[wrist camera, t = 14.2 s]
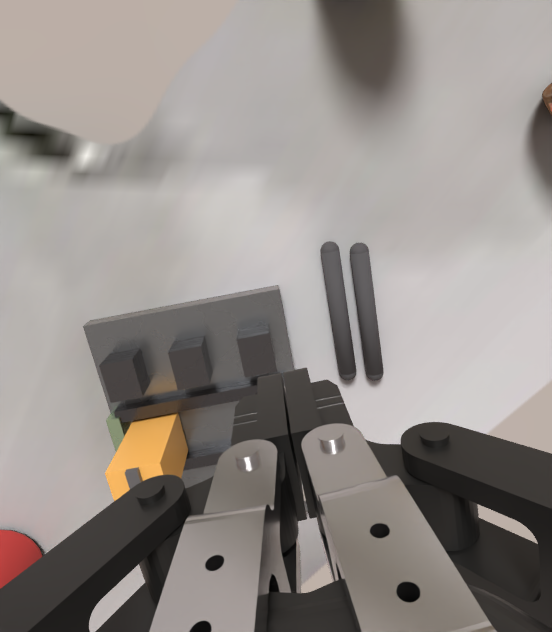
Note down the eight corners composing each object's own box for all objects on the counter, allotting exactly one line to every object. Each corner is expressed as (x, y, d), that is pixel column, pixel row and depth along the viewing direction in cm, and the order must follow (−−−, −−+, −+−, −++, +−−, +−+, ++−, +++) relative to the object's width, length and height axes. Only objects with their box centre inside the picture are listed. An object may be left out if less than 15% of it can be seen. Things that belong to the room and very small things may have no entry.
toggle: (177, 411, 35) (158, 466, 28) (188, 449, 36) (172, 513, 29) (133, 419, 35) (103, 477, 28) (145, 458, 36) (118, 523, 29)
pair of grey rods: (364, 233, 34) (368, 235, 32) (381, 374, 37) (386, 381, 36) (317, 242, 34) (320, 244, 32) (339, 382, 37) (342, 389, 36)
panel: (278, 285, 34) (281, 296, 31) (317, 497, 40) (323, 528, 36) (90, 320, 34) (70, 336, 31) (155, 528, 40) (144, 562, 36)
